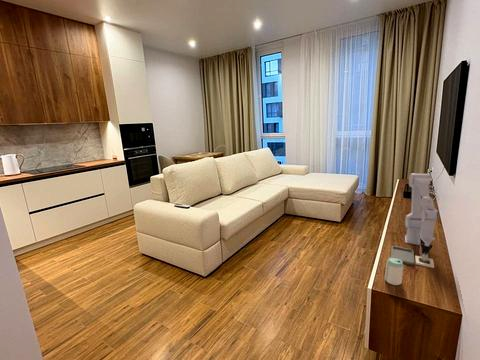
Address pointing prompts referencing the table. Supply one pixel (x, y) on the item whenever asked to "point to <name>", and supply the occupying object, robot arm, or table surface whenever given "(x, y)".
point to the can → (394, 271)
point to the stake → (424, 257)
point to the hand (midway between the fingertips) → (423, 251)
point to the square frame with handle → (421, 259)
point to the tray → (403, 254)
